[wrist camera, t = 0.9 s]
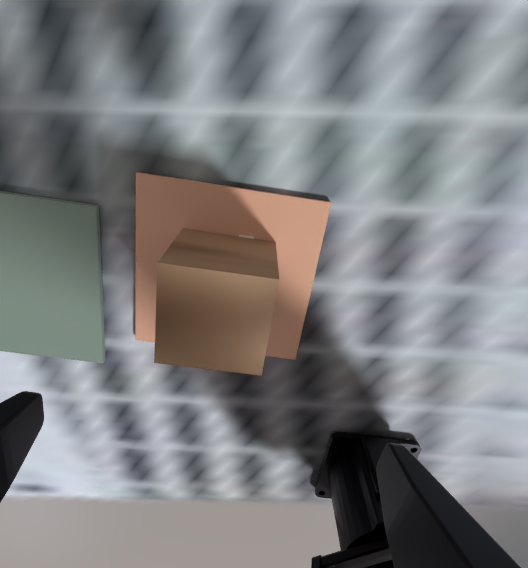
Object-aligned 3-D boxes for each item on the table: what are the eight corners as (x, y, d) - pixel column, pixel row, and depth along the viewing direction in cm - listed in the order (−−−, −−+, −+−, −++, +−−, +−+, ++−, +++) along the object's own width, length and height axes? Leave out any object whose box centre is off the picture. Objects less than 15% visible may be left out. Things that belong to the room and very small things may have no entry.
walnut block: (262, 321, 21) (261, 375, 17) (178, 310, 21) (154, 362, 16) (275, 242, 19) (279, 279, 15) (182, 228, 19) (157, 262, 14)
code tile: (295, 356, 23) (295, 360, 23) (137, 337, 22) (135, 340, 22) (330, 201, 19) (331, 202, 18) (137, 172, 18) (135, 172, 18)
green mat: (105, 359, 23) (102, 363, 23) (-58, 339, 22) (-63, 343, 22) (98, 205, 19) (95, 206, 18) (-101, 175, 18) (-108, 177, 18)
